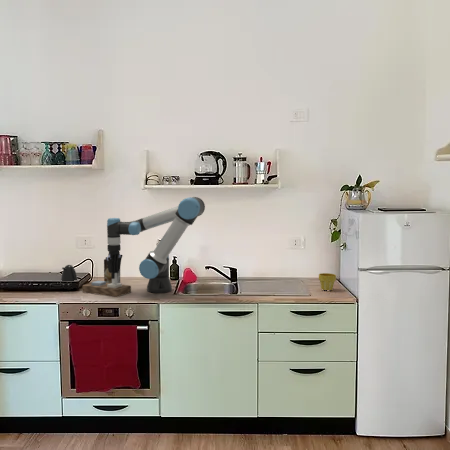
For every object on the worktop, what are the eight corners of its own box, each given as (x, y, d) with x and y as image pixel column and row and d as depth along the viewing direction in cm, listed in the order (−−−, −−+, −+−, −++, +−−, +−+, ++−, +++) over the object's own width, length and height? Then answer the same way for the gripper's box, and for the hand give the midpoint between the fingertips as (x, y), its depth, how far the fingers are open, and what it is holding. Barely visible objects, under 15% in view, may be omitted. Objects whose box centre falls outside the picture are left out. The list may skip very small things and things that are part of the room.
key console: (130, 292, 308) (130, 285, 307) (117, 296, 296) (116, 290, 296) (97, 287, 320) (97, 281, 319) (82, 291, 308) (82, 285, 308)
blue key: (106, 286, 312) (105, 281, 311) (99, 288, 306) (99, 283, 306) (98, 285, 314) (98, 280, 314) (91, 287, 309) (91, 282, 309)
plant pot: (330, 287, 324) (330, 272, 323) (338, 291, 314) (339, 275, 313) (315, 288, 320) (315, 273, 319) (323, 292, 311) (323, 276, 310)
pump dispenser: (56, 290, 313) (56, 265, 311) (69, 286, 322) (68, 262, 320) (69, 291, 308) (68, 266, 306) (81, 288, 317) (81, 264, 316)
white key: (121, 289, 306) (121, 283, 306) (115, 290, 301) (115, 285, 301) (113, 287, 309) (113, 282, 309) (107, 289, 304) (107, 284, 303)
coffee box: (103, 284, 330) (103, 259, 329) (108, 282, 337) (107, 257, 335) (116, 284, 328) (116, 260, 327) (121, 282, 334) (120, 258, 333)
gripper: (116, 242, 310) (116, 281, 312) (101, 245, 298) (102, 285, 301) (126, 243, 306) (126, 282, 309) (111, 246, 295) (112, 286, 297)
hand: (114, 283), depth 305 cm, fingers closed
